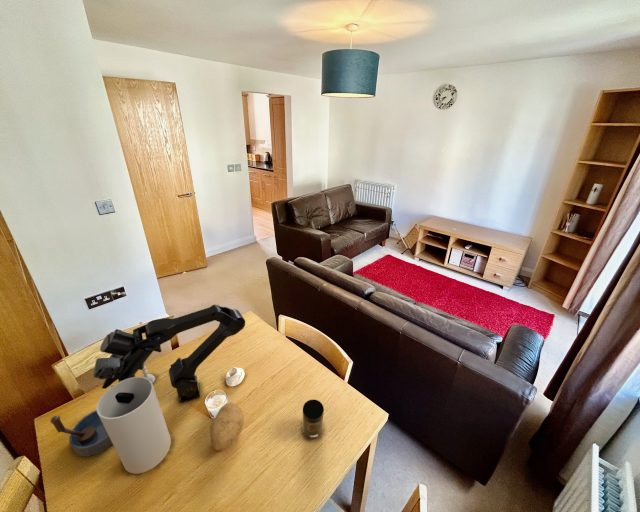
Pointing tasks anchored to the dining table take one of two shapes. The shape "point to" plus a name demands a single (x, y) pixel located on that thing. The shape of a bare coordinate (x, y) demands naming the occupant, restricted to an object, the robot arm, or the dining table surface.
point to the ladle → (81, 436)
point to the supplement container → (313, 418)
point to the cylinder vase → (135, 425)
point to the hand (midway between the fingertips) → (103, 399)
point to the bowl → (95, 444)
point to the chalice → (147, 374)
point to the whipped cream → (234, 376)
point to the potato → (226, 426)
